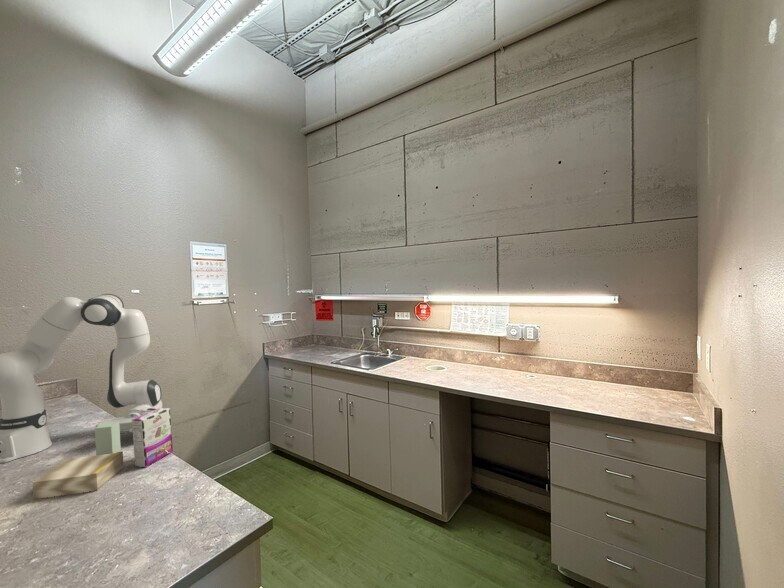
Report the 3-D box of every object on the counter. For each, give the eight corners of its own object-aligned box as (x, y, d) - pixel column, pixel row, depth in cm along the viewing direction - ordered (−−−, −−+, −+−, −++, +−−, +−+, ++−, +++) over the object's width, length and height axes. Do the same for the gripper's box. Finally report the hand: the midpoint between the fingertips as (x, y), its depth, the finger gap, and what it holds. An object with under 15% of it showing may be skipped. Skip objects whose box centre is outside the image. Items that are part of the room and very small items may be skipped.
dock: (33, 499, 99) (32, 481, 98) (68, 473, 112) (67, 458, 112) (97, 490, 102) (96, 473, 102) (123, 466, 116) (122, 451, 116)
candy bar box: (161, 451, 126) (159, 407, 126) (173, 452, 125) (171, 407, 125) (133, 467, 115) (130, 419, 115) (145, 468, 114) (143, 419, 114)
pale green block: (96, 462, 120) (94, 428, 119) (105, 455, 124) (103, 422, 124) (112, 460, 121) (111, 426, 120) (120, 453, 126) (119, 421, 125)
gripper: (107, 413, 139) (84, 427, 126) (163, 408, 144) (147, 420, 130) (107, 428, 139) (85, 443, 126) (163, 423, 144) (147, 436, 130)
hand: (117, 431), depth 128 cm, fingers open, 8 cm apart
